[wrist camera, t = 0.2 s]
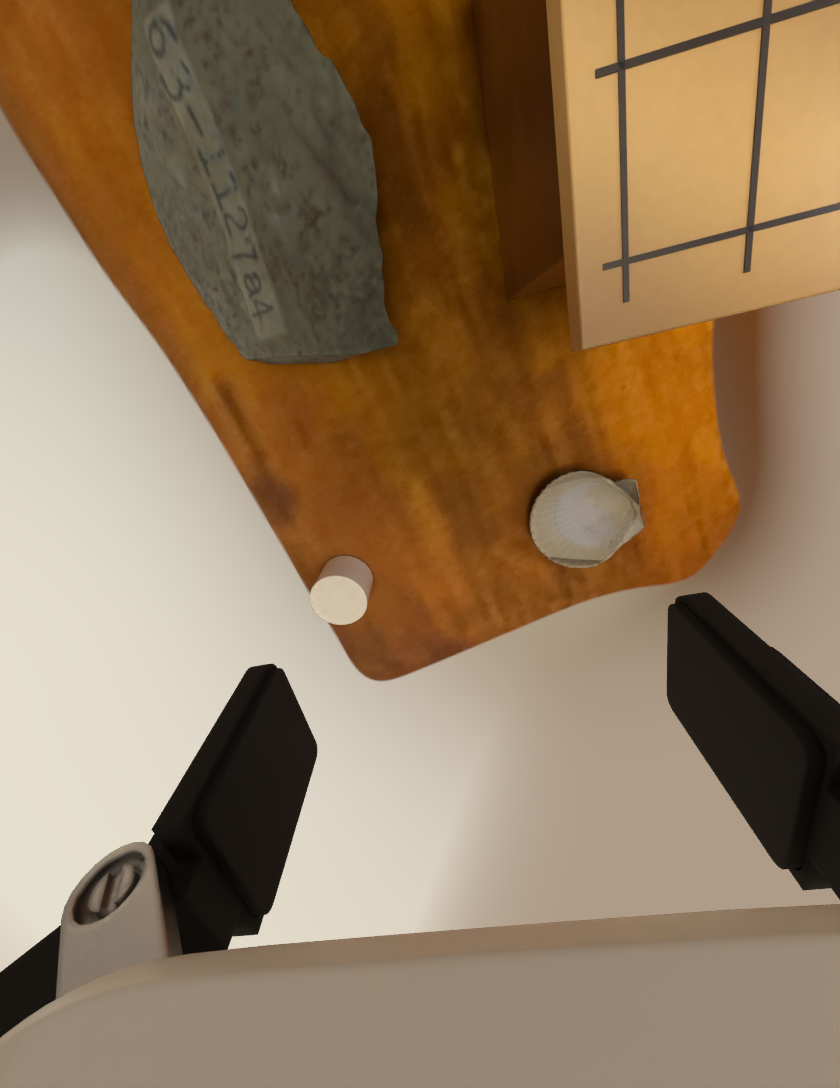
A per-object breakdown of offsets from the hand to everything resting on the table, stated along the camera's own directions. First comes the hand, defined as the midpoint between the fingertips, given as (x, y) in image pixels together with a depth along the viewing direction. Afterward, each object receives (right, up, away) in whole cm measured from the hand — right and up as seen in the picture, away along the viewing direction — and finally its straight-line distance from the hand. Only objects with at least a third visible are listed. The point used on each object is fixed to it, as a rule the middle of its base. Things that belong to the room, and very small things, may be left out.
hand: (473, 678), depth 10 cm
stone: (-10, +24, +16) cm, 31 cm away
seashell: (+11, +6, +23) cm, 27 cm away
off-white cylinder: (-8, 0, +26) cm, 28 cm away
